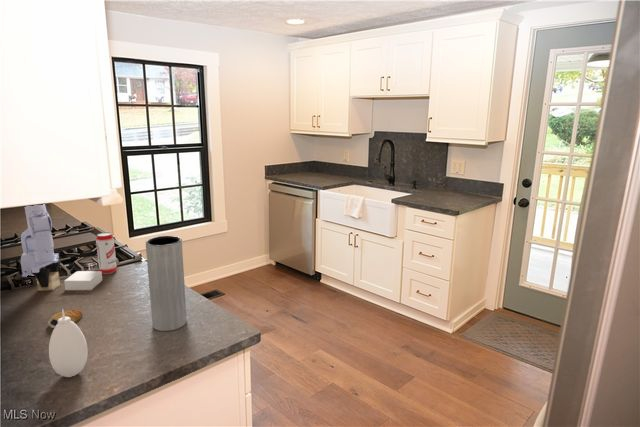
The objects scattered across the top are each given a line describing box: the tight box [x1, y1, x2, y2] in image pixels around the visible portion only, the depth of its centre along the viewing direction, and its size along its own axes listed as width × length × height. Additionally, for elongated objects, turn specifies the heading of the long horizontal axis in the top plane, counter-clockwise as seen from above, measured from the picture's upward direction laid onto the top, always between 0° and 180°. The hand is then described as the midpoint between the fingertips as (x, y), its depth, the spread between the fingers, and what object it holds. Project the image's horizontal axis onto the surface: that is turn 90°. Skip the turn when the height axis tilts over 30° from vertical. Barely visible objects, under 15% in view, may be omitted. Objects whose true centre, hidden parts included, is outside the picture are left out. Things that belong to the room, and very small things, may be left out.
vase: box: [145, 235, 187, 332], centre depth 123 cm, size 10×10×27 cm
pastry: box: [47, 308, 83, 329], centre depth 126 cm, size 9×7×4 cm
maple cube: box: [36, 271, 61, 291], centre depth 149 cm, size 5×5×5 cm
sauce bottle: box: [48, 308, 89, 378], centre depth 99 cm, size 8×8×18 cm
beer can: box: [95, 231, 118, 275], centre depth 163 cm, size 6×6×16 cm
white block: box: [64, 270, 103, 291], centre depth 152 cm, size 9×9×4 cm
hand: (48, 283), depth 149 cm, fingers closed on maple cube, 5 cm apart
